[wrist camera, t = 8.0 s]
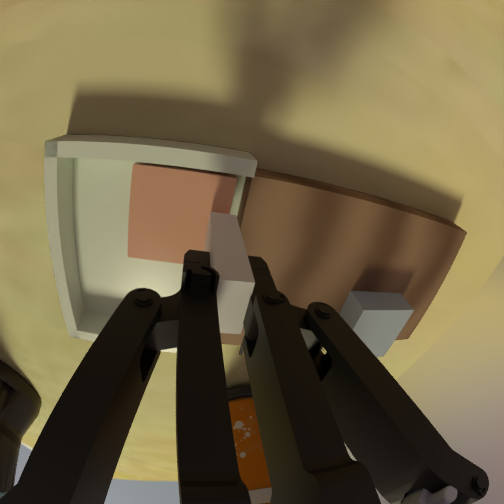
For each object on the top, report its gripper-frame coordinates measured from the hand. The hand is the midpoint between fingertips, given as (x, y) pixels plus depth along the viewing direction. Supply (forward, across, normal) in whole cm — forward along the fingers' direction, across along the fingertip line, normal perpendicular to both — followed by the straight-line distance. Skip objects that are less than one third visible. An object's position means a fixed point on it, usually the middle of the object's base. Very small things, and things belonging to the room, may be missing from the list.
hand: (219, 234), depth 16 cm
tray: (+4, -5, -4) cm, 7 cm away
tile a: (+3, -2, 0) cm, 4 cm away
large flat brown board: (+4, +12, -4) cm, 13 cm away
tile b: (+1, +14, -7) cm, 16 cm away
